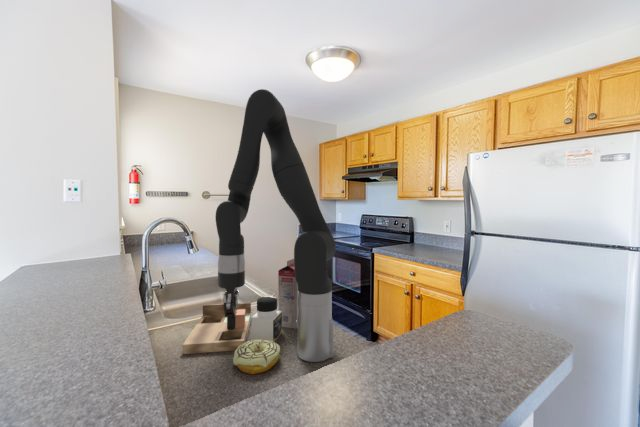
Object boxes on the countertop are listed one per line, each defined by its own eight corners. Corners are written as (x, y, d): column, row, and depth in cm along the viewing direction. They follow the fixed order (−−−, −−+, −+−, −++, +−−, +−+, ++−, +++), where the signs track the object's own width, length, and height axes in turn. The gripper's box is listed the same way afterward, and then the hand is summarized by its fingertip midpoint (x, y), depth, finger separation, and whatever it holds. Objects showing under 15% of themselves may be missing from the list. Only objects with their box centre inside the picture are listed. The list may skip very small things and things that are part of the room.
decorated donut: (225, 374, 66) (225, 357, 66) (244, 350, 77) (244, 335, 77) (271, 378, 64) (271, 360, 64) (284, 352, 76) (284, 337, 76)
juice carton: (278, 326, 93) (278, 260, 93) (286, 318, 99) (286, 257, 99) (296, 328, 91) (296, 261, 91) (304, 321, 97) (304, 258, 97)
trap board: (250, 319, 99) (250, 302, 99) (244, 349, 77) (244, 328, 77) (203, 321, 96) (203, 304, 96) (182, 354, 75) (182, 331, 74)
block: (245, 321, 91) (245, 308, 91) (244, 327, 86) (244, 314, 86) (229, 322, 90) (229, 310, 90) (227, 328, 85) (227, 315, 85)
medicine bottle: (273, 343, 81) (273, 302, 81) (250, 341, 82) (250, 300, 82) (281, 333, 88) (282, 295, 88) (260, 331, 89) (260, 293, 89)
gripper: (242, 274, 75) (242, 337, 75) (246, 264, 88) (246, 319, 88) (213, 275, 74) (213, 339, 74) (222, 265, 87) (221, 320, 87)
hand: (231, 328), depth 81 cm, fingers closed
